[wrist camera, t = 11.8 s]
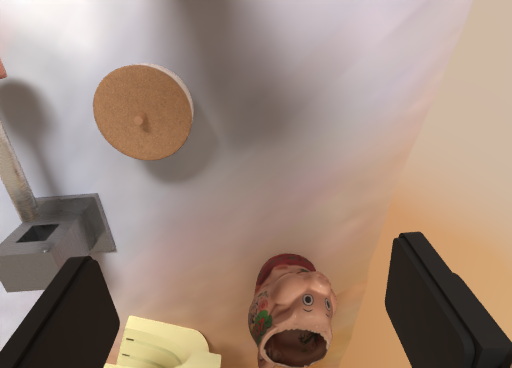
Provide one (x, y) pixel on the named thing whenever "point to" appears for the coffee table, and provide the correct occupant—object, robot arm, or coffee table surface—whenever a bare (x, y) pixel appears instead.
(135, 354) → the slatted curved stool
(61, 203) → the grey square peg socket
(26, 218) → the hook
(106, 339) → the robot arm
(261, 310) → the decorative planter
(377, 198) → the coffee table surface
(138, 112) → the lidded jar
